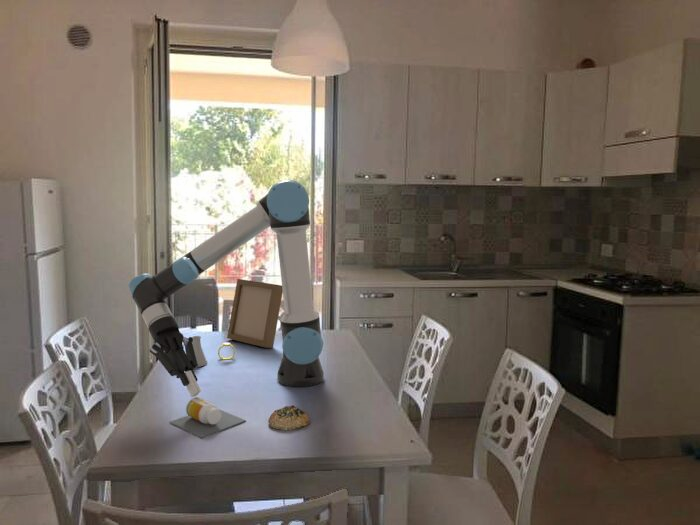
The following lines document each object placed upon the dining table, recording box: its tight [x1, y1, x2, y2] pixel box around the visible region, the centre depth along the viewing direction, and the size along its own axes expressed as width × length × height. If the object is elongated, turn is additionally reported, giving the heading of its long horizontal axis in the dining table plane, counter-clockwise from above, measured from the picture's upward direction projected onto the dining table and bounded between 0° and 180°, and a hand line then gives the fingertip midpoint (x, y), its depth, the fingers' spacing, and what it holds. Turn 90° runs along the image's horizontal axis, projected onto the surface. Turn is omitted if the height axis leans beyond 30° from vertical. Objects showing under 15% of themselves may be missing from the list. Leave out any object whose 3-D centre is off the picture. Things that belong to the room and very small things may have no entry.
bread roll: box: [268, 404, 311, 431], centre depth 151 cm, size 11×11×5 cm
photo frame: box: [226, 278, 283, 349], centre depth 230 cm, size 15×22×25 cm
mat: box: [169, 408, 247, 439], centre depth 150 cm, size 14×14×1 cm
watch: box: [217, 342, 236, 361], centre depth 206 cm, size 6×3×6 cm, turn 103°
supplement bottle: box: [185, 396, 221, 424], centre depth 149 cm, size 5×5×10 cm
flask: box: [191, 335, 208, 368], centre depth 199 cm, size 7×7×10 cm
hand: (196, 393), depth 152 cm, fingers closed
